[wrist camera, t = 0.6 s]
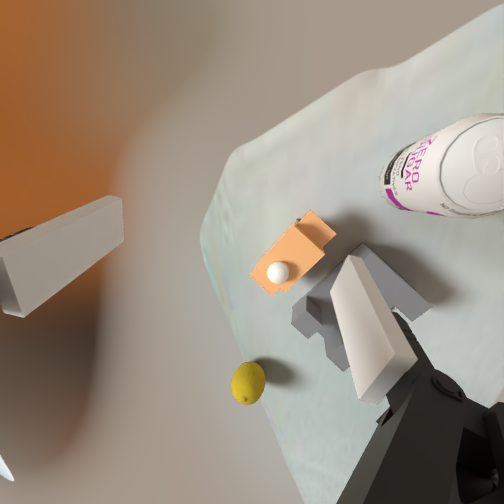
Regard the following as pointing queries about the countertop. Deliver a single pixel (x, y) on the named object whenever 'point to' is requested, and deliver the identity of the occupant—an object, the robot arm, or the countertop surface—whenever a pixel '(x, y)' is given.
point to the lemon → (248, 383)
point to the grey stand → (323, 313)
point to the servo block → (293, 254)
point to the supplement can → (450, 170)
